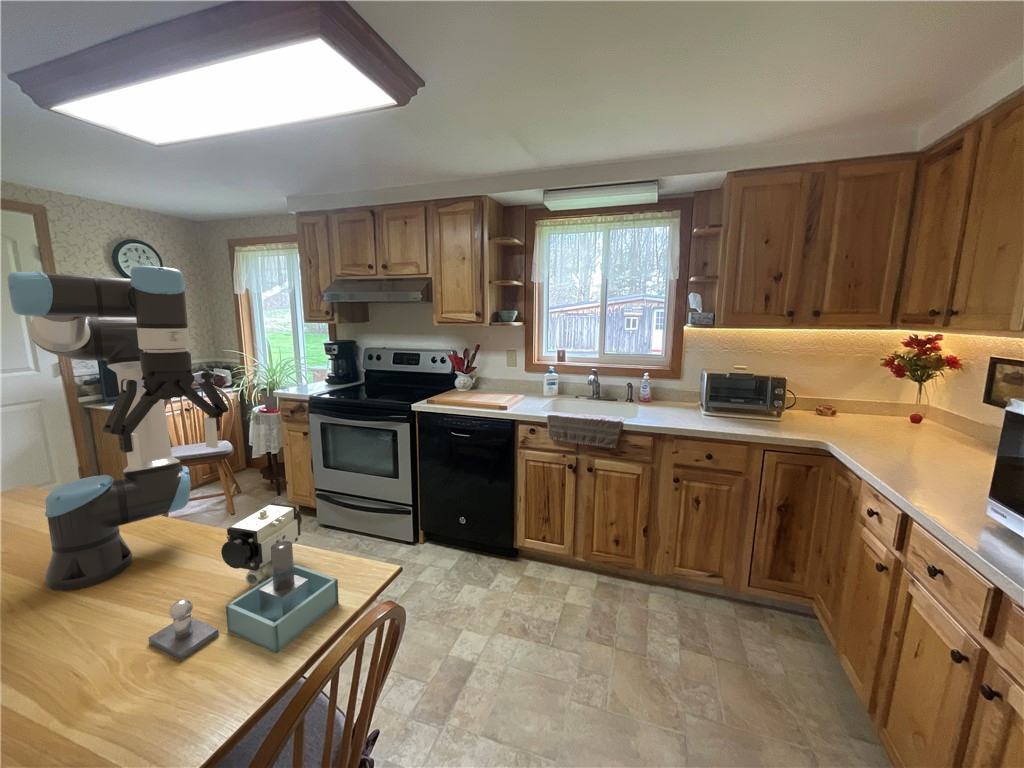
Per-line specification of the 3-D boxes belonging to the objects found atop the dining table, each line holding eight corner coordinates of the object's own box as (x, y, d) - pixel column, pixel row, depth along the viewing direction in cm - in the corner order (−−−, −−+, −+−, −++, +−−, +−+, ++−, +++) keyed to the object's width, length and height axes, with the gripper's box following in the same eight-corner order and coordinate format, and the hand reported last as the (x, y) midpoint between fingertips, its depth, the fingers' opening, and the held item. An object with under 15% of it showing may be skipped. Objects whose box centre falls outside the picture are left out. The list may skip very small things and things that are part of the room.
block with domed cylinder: (283, 628, 86) (279, 557, 83) (261, 618, 88) (255, 550, 85) (309, 607, 92) (306, 541, 89) (287, 599, 94) (283, 535, 92)
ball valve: (255, 603, 94) (250, 531, 91) (224, 597, 95) (217, 526, 92) (309, 559, 111) (305, 497, 108) (281, 554, 113) (277, 493, 110)
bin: (227, 631, 85) (225, 605, 84) (294, 586, 100) (293, 563, 99) (275, 654, 80) (273, 626, 79) (338, 602, 95) (337, 579, 94)
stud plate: (149, 644, 81) (144, 604, 80) (188, 620, 88) (184, 583, 86) (180, 661, 78) (176, 620, 76) (218, 635, 84) (215, 597, 83)
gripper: (90, 356, 66) (107, 482, 69) (242, 347, 89) (249, 442, 92) (65, 353, 69) (83, 474, 72) (219, 345, 91) (227, 437, 95)
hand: (176, 456), depth 82 cm, fingers open, 13 cm apart
